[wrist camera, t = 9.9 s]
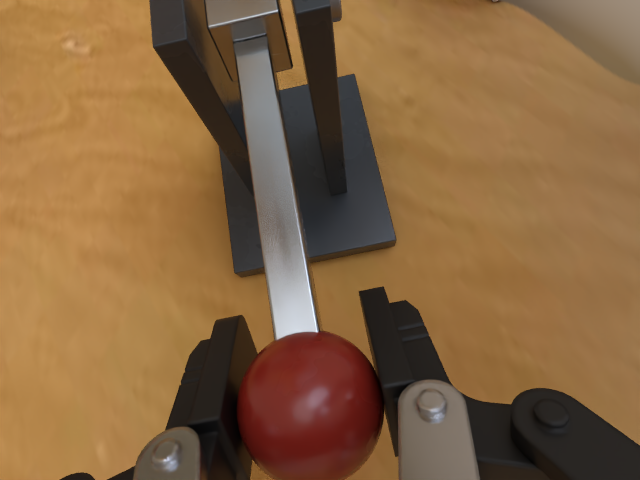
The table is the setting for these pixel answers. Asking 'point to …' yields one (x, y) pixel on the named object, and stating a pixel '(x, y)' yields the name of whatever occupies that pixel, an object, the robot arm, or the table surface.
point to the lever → (290, 283)
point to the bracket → (302, 129)
